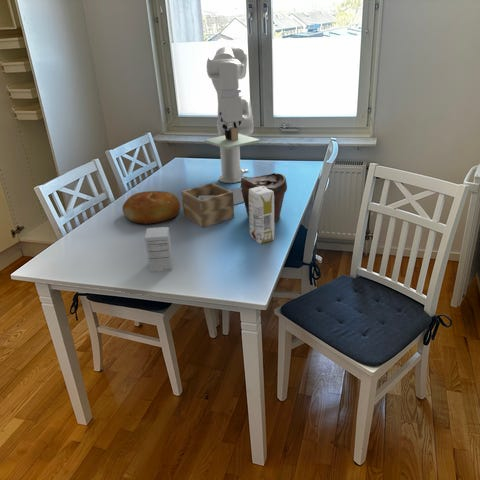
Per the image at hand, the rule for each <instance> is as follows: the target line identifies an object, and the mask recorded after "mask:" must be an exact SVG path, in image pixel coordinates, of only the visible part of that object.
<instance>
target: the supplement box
mask: <svg viewBox="0 0 480 480" xmlns="http://www.w3.org/2000/svg"><path fill="white" fill-rule="evenodd" d="M144 241H145V248H146V255H147V260H148V267H149V268H148V269H149V272H151V273H154V272H156V273H157V272H165V271H167V272H168V271H169V272H170V271H172V270H173V263H174V262H173V261H174V257H173V251H172V250H173V249H172V243H171V242H172V241H171V235H170V228H169V226H161V227H150V228H146V230H145V236H144Z"/></svg>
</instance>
